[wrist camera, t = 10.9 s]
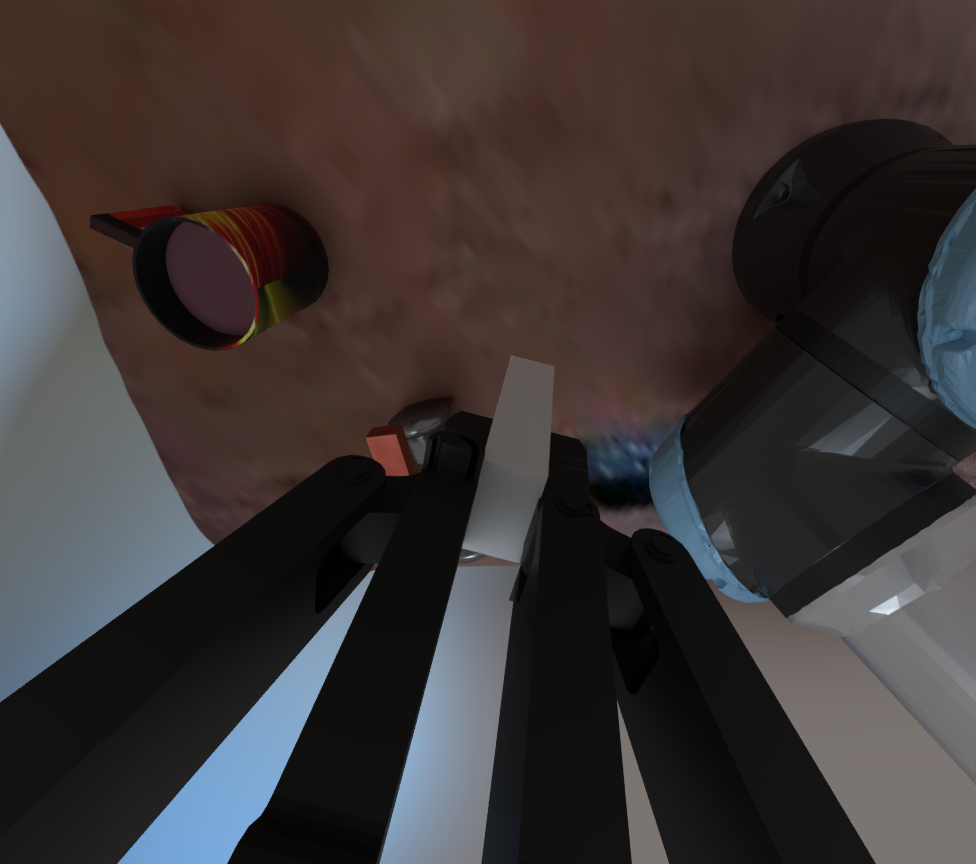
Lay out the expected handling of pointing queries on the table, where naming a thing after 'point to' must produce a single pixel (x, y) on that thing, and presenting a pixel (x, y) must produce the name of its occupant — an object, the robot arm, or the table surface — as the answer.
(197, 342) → the mug
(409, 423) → the valve
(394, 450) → the lever
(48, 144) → the table surface
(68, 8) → the table surface
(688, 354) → the table surface
